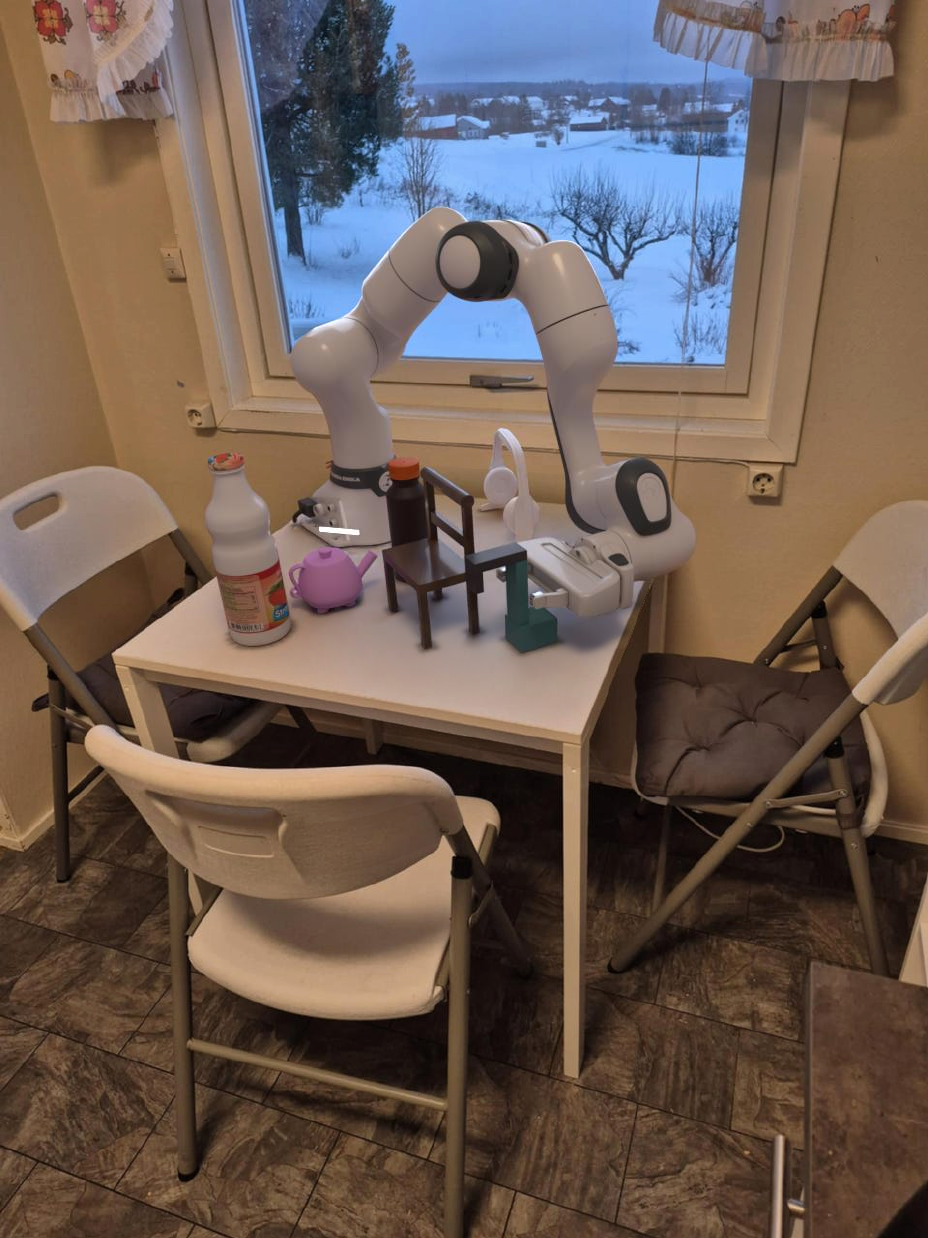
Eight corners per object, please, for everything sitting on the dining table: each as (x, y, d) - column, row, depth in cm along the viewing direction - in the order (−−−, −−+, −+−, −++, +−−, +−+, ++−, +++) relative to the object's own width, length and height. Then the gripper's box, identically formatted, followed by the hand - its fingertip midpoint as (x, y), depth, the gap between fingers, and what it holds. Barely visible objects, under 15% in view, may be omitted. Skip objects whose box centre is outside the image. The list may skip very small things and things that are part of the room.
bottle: (417, 561, 150) (406, 452, 140) (442, 573, 146) (433, 460, 136) (386, 575, 146) (373, 463, 136) (412, 587, 142) (400, 472, 132)
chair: (442, 594, 139) (431, 465, 128) (482, 631, 128) (474, 493, 117) (388, 609, 136) (373, 478, 125) (425, 649, 124) (411, 508, 114)
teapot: (285, 597, 141) (276, 545, 137) (372, 576, 146) (366, 526, 141) (300, 624, 133) (290, 571, 128) (391, 602, 138) (385, 549, 133)
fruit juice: (227, 624, 135) (187, 453, 121) (286, 611, 137) (254, 442, 123) (234, 653, 127) (192, 474, 113) (297, 639, 129) (264, 461, 115)
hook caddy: (540, 627, 128) (538, 532, 120) (557, 641, 124) (556, 544, 116) (468, 650, 124) (461, 553, 116) (483, 666, 120) (477, 566, 112)
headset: (543, 544, 153) (542, 448, 144) (505, 550, 152) (501, 453, 143) (514, 504, 170) (512, 416, 161) (480, 509, 169) (475, 420, 160)
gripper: (559, 520, 131) (479, 541, 126) (640, 571, 115) (552, 597, 110) (559, 557, 134) (481, 579, 129) (638, 611, 118) (552, 639, 113)
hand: (514, 588), depth 120 cm, fingers open, 8 cm apart
